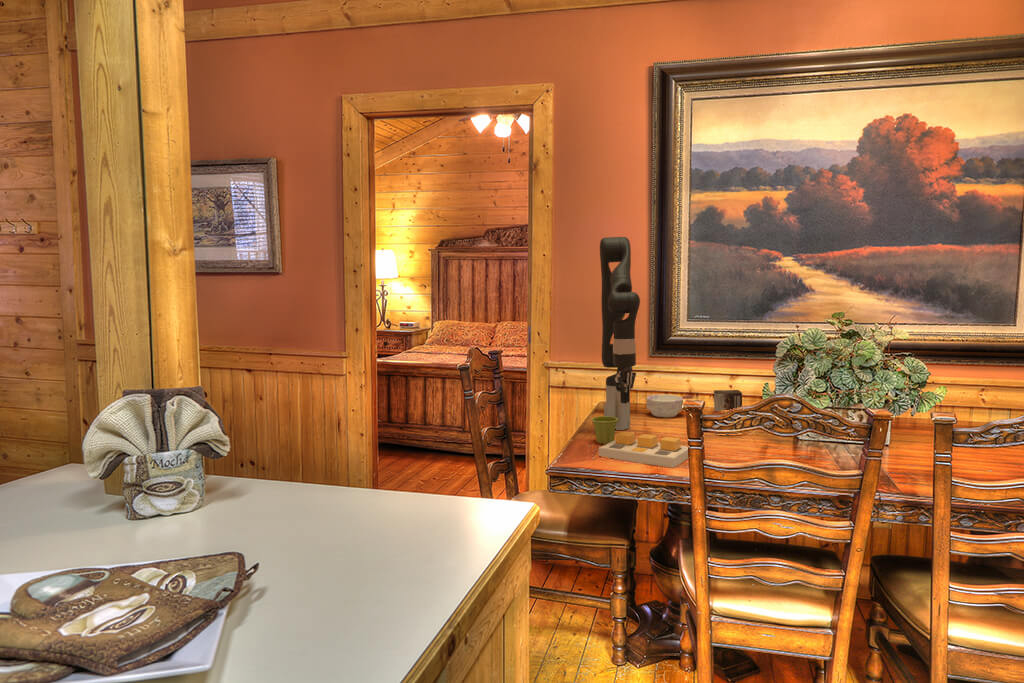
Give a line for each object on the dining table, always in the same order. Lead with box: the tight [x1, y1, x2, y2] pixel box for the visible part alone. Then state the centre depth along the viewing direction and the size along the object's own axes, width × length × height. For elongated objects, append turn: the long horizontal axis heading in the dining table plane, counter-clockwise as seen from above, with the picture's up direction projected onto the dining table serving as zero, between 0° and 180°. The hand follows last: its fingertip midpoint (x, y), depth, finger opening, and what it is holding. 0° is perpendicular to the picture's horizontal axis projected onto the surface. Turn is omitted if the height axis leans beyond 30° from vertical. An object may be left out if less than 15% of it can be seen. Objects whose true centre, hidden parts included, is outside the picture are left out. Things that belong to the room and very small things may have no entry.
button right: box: [659, 436, 682, 451], centre depth 213 cm, size 5×5×3 cm
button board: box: [598, 439, 689, 469], centre depth 217 cm, size 26×16×3 cm, turn 55°
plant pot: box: [591, 416, 618, 445], centre depth 236 cm, size 9×9×9 cm
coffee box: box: [713, 389, 744, 435], centre depth 243 cm, size 9×6×16 cm
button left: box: [615, 430, 637, 445], centre depth 223 cm, size 5×5×3 cm
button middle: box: [636, 433, 659, 448], centre depth 218 cm, size 5×5×3 cm
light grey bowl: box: [645, 393, 684, 419], centre depth 278 cm, size 15×15×8 cm
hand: (625, 402), depth 221 cm, fingers closed
